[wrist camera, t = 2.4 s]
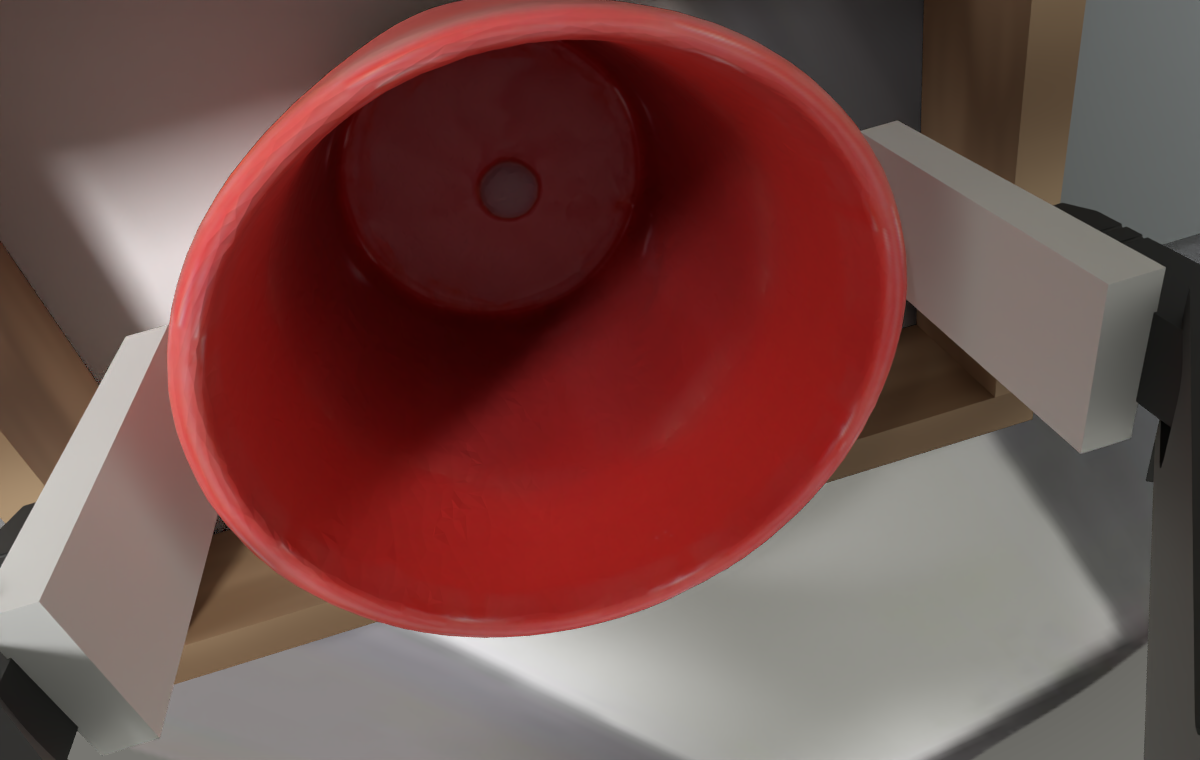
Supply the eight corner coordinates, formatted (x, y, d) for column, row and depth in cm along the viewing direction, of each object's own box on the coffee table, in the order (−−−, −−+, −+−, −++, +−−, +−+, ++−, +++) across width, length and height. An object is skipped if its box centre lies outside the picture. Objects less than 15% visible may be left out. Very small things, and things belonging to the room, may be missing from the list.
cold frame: (-345, -140, 14) (-836, -119, 8) (993, -459, 16) (1344, -623, 10) (182, 577, 25) (121, 802, 19) (951, 345, 26) (1109, 489, 21)
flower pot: (739, 292, 24) (920, 527, 16) (363, 412, 23) (353, 718, 15) (673, -139, 17) (915, -114, 10) (160, 11, 17) (-37, 171, 9)
